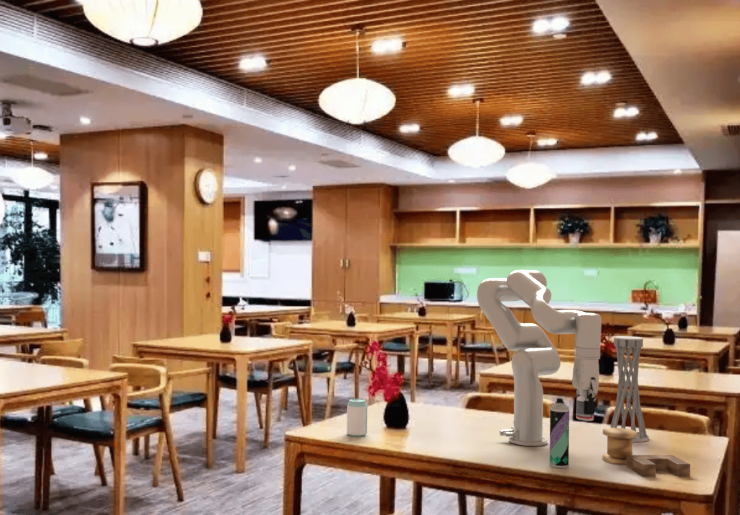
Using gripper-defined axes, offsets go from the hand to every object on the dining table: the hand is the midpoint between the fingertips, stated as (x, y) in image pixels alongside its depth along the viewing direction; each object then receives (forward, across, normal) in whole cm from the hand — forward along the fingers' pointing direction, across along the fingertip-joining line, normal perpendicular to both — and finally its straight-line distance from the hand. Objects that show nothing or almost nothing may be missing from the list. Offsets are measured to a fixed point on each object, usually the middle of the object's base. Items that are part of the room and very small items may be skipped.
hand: (585, 411), depth 218 cm
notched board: (+14, +14, +17) cm, 26 cm away
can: (+17, -33, -68) cm, 77 cm away
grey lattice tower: (+15, -28, +27) cm, 42 cm away
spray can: (+15, +8, -10) cm, 20 cm away
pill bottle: (+3, 0, 0) cm, 3 cm away
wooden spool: (+15, +2, +10) cm, 18 cm away
